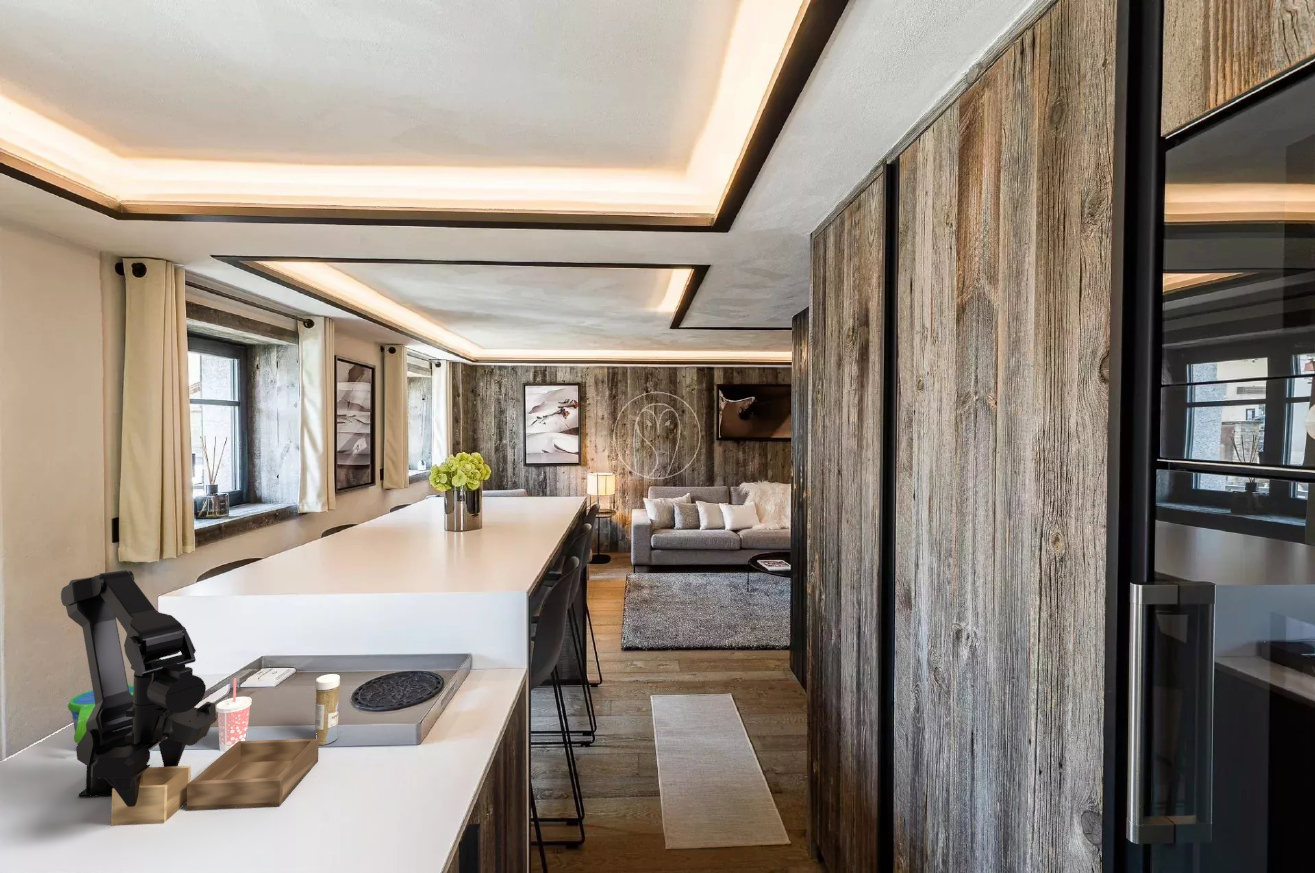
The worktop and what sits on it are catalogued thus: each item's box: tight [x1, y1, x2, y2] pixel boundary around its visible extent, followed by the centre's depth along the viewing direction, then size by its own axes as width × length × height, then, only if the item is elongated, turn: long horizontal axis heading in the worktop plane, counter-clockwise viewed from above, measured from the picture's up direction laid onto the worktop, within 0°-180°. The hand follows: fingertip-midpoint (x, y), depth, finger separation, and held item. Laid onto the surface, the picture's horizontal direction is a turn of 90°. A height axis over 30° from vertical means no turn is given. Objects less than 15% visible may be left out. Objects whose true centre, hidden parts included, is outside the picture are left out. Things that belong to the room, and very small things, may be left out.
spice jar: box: [314, 673, 341, 746], centre depth 128 cm, size 5×5×14 cm
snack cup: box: [67, 684, 134, 746], centre depth 125 cm, size 16×10×10 cm
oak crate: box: [110, 765, 192, 826], centre depth 103 cm, size 8×6×6 cm
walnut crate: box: [186, 738, 320, 812], centre depth 111 cm, size 15×15×4 cm
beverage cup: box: [215, 677, 253, 753], centre depth 125 cm, size 6×6×14 cm
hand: (152, 789), depth 103 cm, fingers open, 9 cm apart
